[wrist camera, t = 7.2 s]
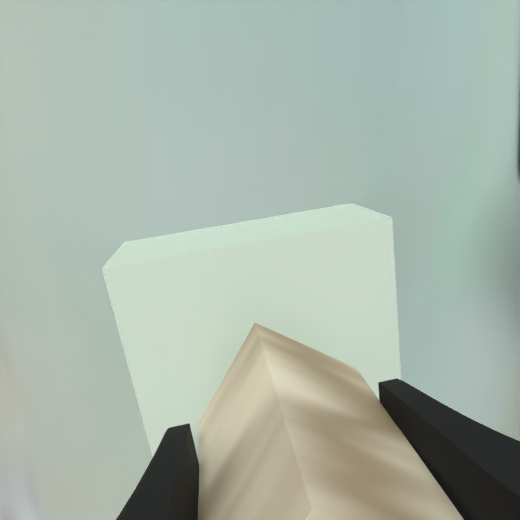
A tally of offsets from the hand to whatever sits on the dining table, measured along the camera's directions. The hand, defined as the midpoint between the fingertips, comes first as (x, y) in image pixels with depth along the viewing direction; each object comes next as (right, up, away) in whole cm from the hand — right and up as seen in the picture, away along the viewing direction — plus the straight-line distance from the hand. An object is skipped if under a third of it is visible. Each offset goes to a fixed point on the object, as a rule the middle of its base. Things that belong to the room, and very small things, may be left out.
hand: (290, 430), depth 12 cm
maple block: (0, 0, +2) cm, 2 cm away
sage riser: (-1, +2, +7) cm, 7 cm away
